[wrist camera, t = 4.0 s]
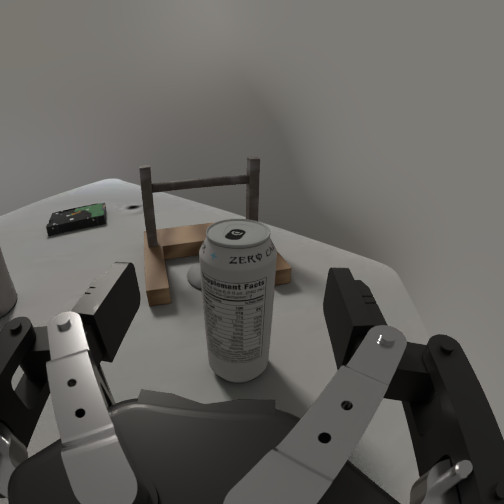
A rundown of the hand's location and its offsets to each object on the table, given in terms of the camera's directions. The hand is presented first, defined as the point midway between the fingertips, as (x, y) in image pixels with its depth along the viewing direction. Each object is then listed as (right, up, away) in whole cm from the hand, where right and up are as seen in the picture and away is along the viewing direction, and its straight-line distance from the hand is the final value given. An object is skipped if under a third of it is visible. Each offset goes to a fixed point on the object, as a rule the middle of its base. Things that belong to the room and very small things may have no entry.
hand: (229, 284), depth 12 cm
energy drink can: (-1, -10, +18) cm, 21 cm away
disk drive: (-41, +8, +51) cm, 66 cm away
